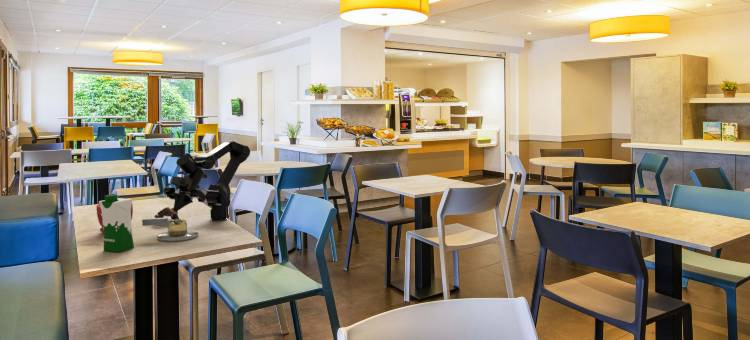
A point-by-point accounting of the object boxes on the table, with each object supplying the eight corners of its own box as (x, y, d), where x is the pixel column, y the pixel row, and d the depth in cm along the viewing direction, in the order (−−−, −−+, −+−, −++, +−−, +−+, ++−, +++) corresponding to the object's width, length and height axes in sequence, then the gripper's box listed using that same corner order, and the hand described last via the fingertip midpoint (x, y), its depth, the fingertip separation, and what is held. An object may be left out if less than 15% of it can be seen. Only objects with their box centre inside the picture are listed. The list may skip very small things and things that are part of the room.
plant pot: (90, 234, 212) (88, 205, 211) (118, 227, 224) (116, 199, 223) (114, 237, 207) (112, 207, 205) (141, 230, 219) (139, 201, 217)
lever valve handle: (188, 230, 212) (187, 215, 211) (186, 234, 205) (185, 218, 204) (145, 233, 208) (144, 217, 207) (141, 237, 201) (140, 221, 200)
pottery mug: (177, 227, 227) (166, 211, 224) (159, 235, 229) (148, 220, 226) (187, 214, 238) (177, 199, 236) (170, 222, 240) (159, 208, 237)
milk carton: (99, 251, 188) (95, 195, 185) (119, 245, 196) (116, 191, 194) (119, 253, 185) (115, 197, 182) (138, 247, 193) (135, 192, 191)
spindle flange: (206, 234, 211) (205, 217, 211) (178, 243, 198) (177, 225, 197) (177, 231, 218) (177, 214, 217) (148, 239, 204) (147, 222, 203)
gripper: (165, 167, 221) (145, 198, 213) (199, 169, 213) (180, 201, 205) (180, 183, 229) (161, 213, 221) (214, 186, 222) (196, 217, 213)
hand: (174, 211), depth 215 cm, fingers closed
